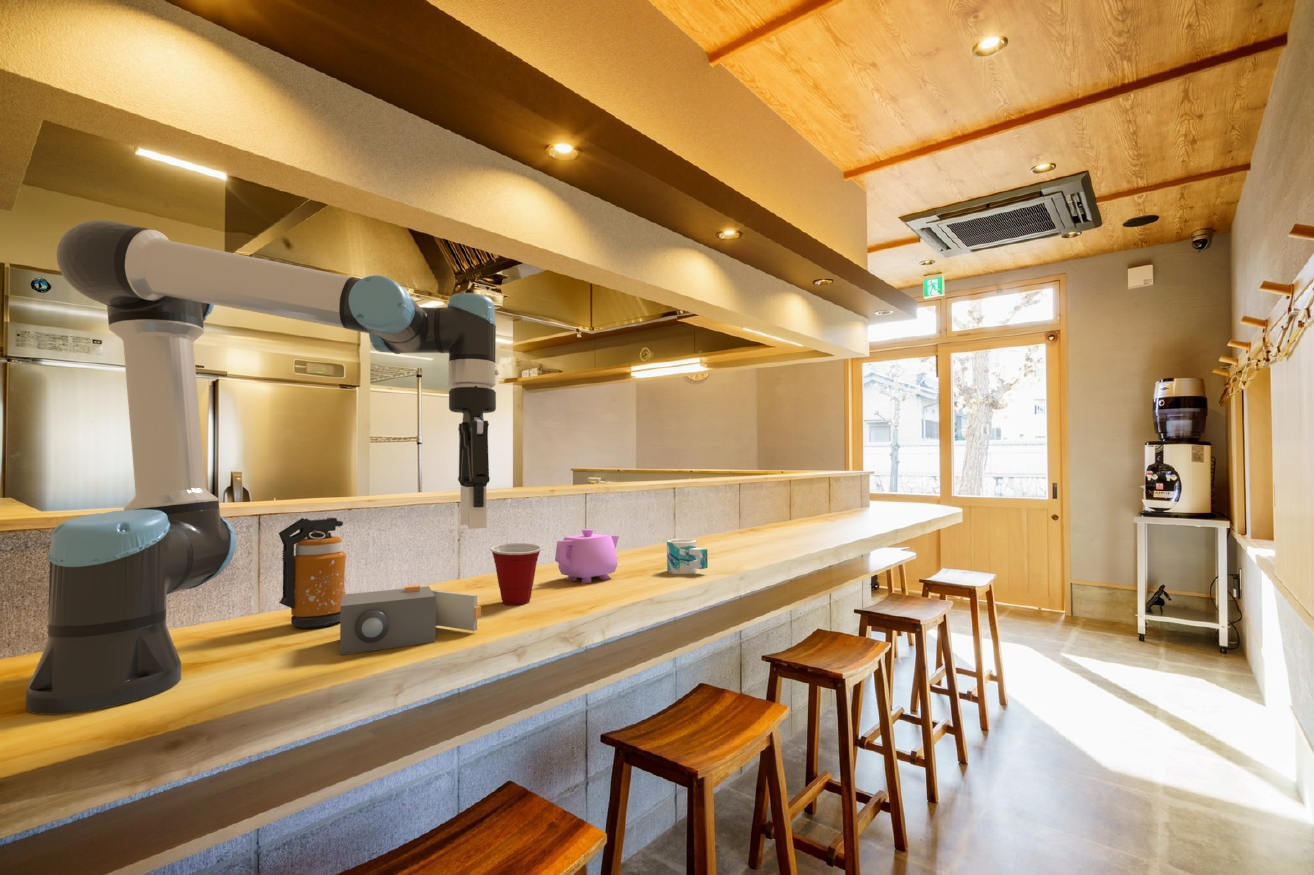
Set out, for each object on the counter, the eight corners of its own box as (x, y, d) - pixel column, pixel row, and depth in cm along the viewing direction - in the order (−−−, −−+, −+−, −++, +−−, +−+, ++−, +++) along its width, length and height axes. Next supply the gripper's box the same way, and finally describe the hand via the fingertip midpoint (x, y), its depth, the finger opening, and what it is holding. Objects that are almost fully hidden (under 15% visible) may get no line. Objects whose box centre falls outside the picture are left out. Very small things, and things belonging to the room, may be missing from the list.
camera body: (339, 658, 93) (340, 603, 94) (341, 639, 104) (341, 589, 104) (437, 644, 99) (437, 593, 100) (429, 628, 110) (429, 581, 110)
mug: (682, 568, 171) (682, 537, 171) (714, 572, 162) (714, 541, 162) (661, 571, 165) (660, 540, 165) (693, 577, 156) (692, 544, 157)
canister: (353, 622, 115) (353, 516, 116) (287, 635, 107) (288, 520, 108) (335, 615, 121) (336, 514, 122) (271, 626, 113) (273, 518, 114)
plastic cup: (504, 611, 122) (504, 550, 123) (482, 602, 131) (481, 546, 131) (552, 602, 129) (551, 545, 130) (527, 594, 138) (527, 541, 138)
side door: (474, 632, 105) (474, 596, 105) (430, 625, 110) (430, 591, 111) (481, 630, 106) (480, 594, 107) (436, 623, 112) (436, 589, 112)
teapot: (573, 587, 145) (572, 534, 146) (542, 581, 154) (542, 531, 154) (634, 576, 159) (633, 527, 160) (602, 571, 168) (602, 524, 169)
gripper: (508, 381, 95) (509, 529, 94) (484, 395, 113) (484, 520, 112) (458, 378, 91) (458, 533, 90) (441, 394, 109) (441, 523, 108)
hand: (473, 525), depth 101 cm, fingers open, 7 cm apart
